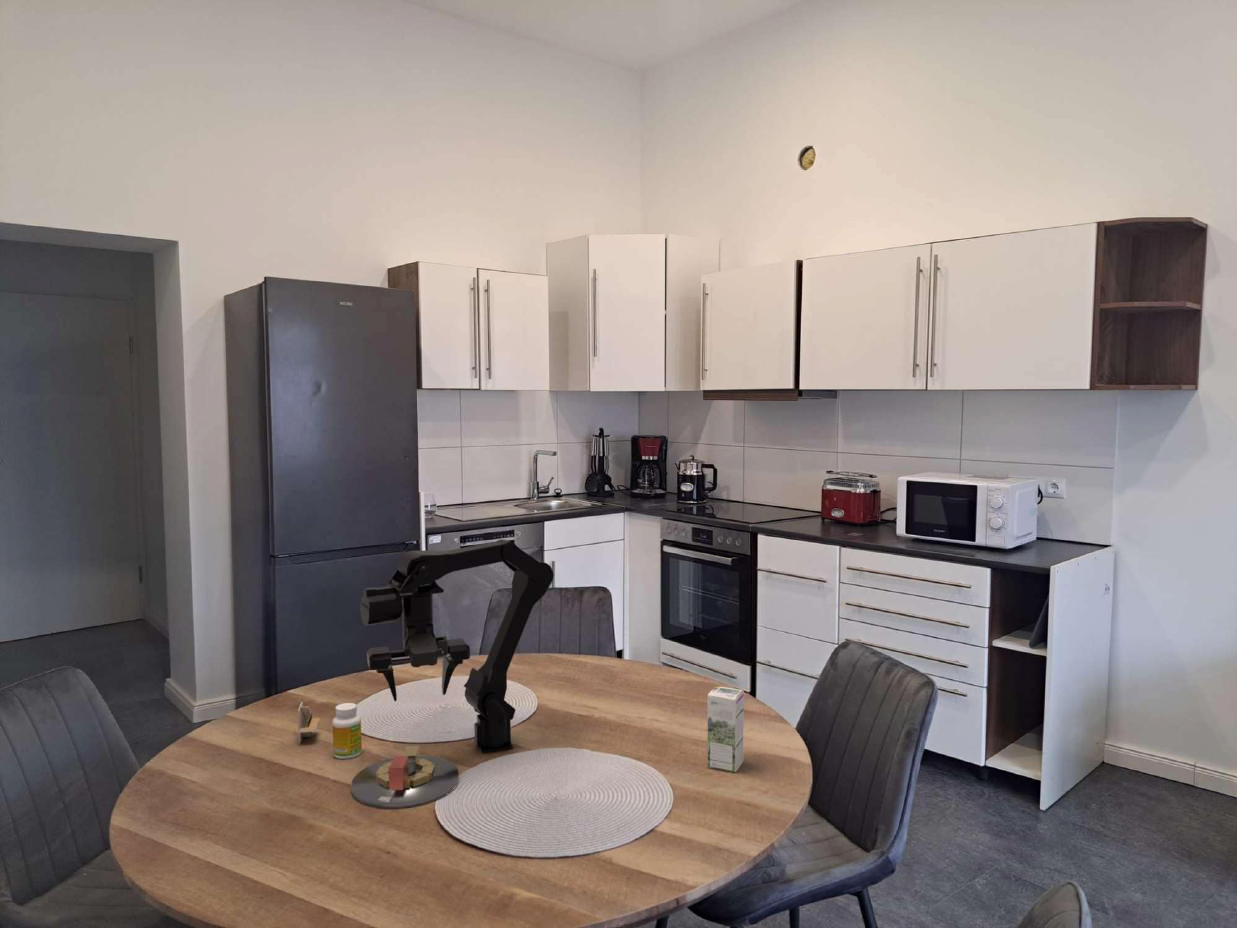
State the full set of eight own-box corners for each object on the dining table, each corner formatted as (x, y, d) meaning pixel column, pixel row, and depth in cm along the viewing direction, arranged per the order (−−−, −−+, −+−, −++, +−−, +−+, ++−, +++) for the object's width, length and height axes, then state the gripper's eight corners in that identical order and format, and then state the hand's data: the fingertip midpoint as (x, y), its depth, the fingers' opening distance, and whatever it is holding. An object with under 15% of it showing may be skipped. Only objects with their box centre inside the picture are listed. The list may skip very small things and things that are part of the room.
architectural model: (320, 734, 180) (318, 699, 179) (315, 747, 173) (314, 711, 173) (302, 735, 179) (301, 701, 179) (298, 748, 172) (296, 713, 172)
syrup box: (744, 761, 164) (744, 688, 163) (735, 773, 158) (735, 698, 157) (716, 756, 166) (716, 684, 165) (706, 768, 161) (706, 693, 160)
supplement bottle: (353, 760, 165) (351, 711, 165) (327, 758, 166) (326, 710, 166) (366, 749, 171) (365, 702, 170) (342, 747, 172) (340, 700, 171)
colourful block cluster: (354, 777, 154) (353, 750, 154) (414, 755, 164) (414, 729, 164) (394, 799, 146) (394, 770, 145) (456, 774, 155) (455, 747, 155)
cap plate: (448, 755, 167) (448, 735, 167) (467, 796, 150) (467, 774, 149) (347, 771, 160) (347, 750, 160) (355, 816, 143) (355, 793, 143)
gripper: (371, 633, 151) (373, 718, 152) (475, 622, 158) (476, 704, 159) (365, 618, 161) (368, 698, 162) (463, 609, 168) (464, 686, 169)
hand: (419, 697), depth 163 cm, fingers open, 9 cm apart
